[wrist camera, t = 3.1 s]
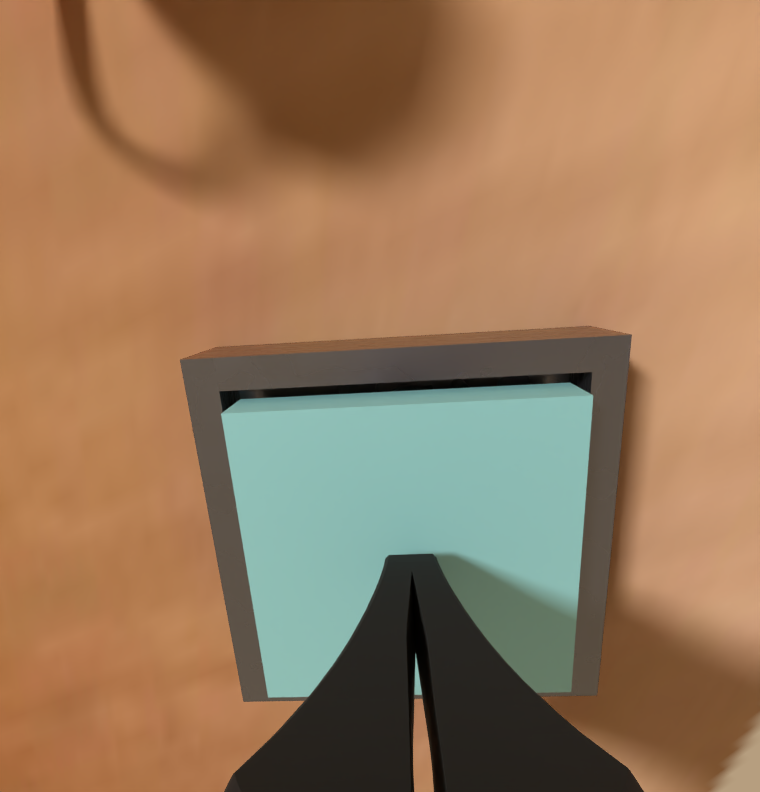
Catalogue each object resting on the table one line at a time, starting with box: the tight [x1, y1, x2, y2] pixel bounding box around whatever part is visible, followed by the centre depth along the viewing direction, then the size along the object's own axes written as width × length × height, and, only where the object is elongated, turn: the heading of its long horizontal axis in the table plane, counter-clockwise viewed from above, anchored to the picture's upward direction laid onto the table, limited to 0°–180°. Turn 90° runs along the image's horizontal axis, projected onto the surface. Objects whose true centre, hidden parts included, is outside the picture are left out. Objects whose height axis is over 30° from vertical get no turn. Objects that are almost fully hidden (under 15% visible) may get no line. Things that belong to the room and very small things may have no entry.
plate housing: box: [180, 326, 632, 702], centre depth 15 cm, size 13×13×2 cm
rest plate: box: [221, 383, 593, 698], centre depth 13 cm, size 10×10×2 cm
